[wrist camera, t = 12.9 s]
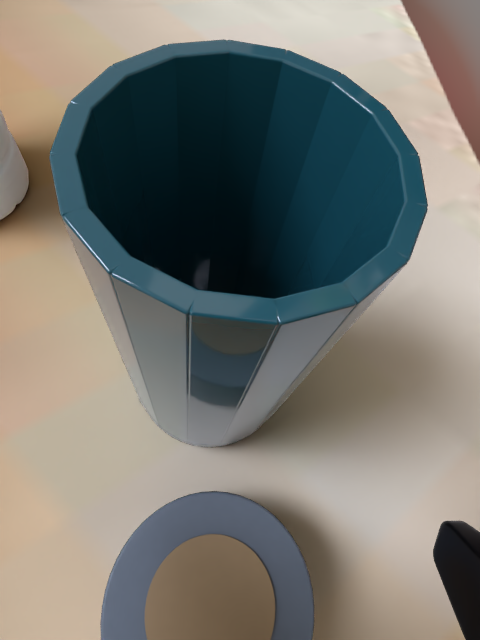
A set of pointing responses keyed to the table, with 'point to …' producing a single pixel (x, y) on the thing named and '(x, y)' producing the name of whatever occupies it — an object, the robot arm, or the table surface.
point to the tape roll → (209, 576)
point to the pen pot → (232, 222)
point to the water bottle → (11, 171)
